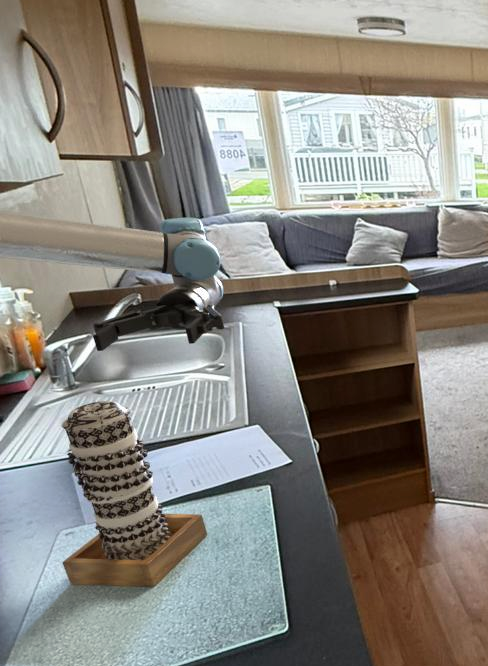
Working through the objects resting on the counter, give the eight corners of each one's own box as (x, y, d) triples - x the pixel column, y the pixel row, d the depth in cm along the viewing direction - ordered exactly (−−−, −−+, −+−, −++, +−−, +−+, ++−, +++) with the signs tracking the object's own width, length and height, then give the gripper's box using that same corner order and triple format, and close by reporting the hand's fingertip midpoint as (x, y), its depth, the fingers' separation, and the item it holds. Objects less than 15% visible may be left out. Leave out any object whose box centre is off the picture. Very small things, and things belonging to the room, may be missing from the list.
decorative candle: (96, 577, 97) (40, 426, 87) (117, 541, 105) (68, 400, 95) (166, 564, 99) (119, 416, 90) (181, 530, 107) (140, 392, 98)
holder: (70, 584, 97) (61, 562, 95) (132, 532, 109) (125, 512, 107) (154, 586, 96) (147, 564, 95) (207, 534, 108) (202, 514, 107)
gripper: (256, 320, 132) (231, 353, 113) (116, 330, 126) (64, 367, 107) (249, 283, 129) (221, 312, 110) (105, 292, 123) (50, 324, 104)
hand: (144, 339), depth 109 cm, fingers open, 13 cm apart
